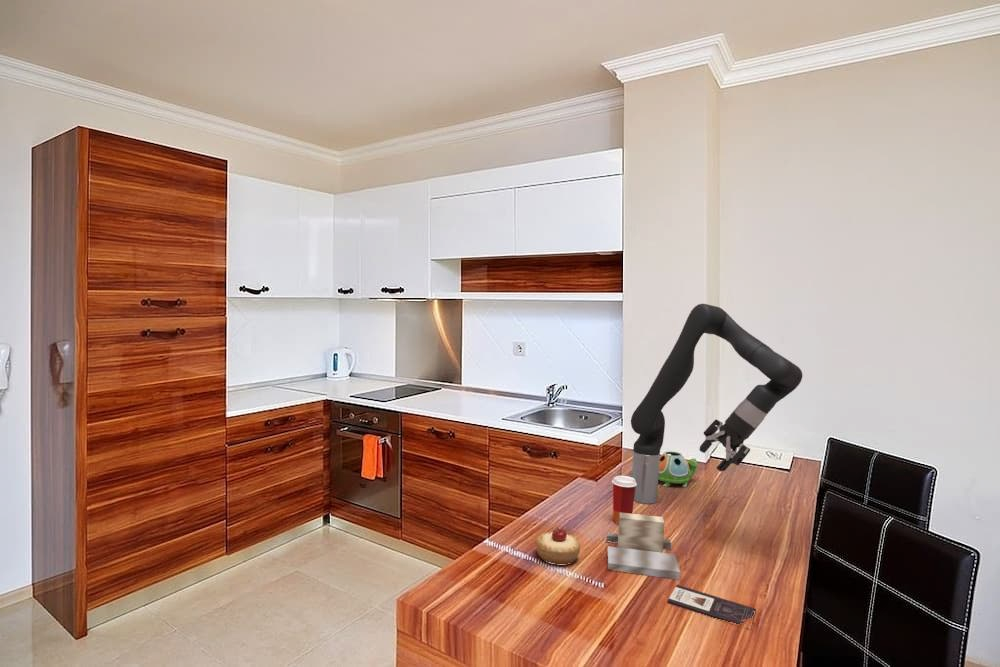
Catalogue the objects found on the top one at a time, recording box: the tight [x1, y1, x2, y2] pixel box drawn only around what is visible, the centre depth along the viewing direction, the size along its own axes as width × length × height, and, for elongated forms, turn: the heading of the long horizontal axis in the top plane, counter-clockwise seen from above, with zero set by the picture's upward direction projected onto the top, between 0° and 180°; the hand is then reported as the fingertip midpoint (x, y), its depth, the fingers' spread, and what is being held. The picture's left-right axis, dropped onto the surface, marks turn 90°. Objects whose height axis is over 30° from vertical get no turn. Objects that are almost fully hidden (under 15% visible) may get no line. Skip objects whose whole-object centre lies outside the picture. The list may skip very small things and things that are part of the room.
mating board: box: [606, 532, 681, 581], centre depth 151 cm, size 18×19×2 cm
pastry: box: [535, 527, 581, 565], centre depth 149 cm, size 12×12×9 cm
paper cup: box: [611, 475, 637, 523], centre depth 175 cm, size 8×8×14 cm
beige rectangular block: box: [617, 513, 665, 553], centre depth 155 cm, size 12×4×10 cm, turn 80°
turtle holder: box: [658, 450, 699, 489], centre depth 216 cm, size 12×18×12 cm
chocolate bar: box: [666, 584, 757, 625], centre depth 128 cm, size 9×1×18 cm
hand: (710, 460), depth 161 cm, fingers open, 8 cm apart
